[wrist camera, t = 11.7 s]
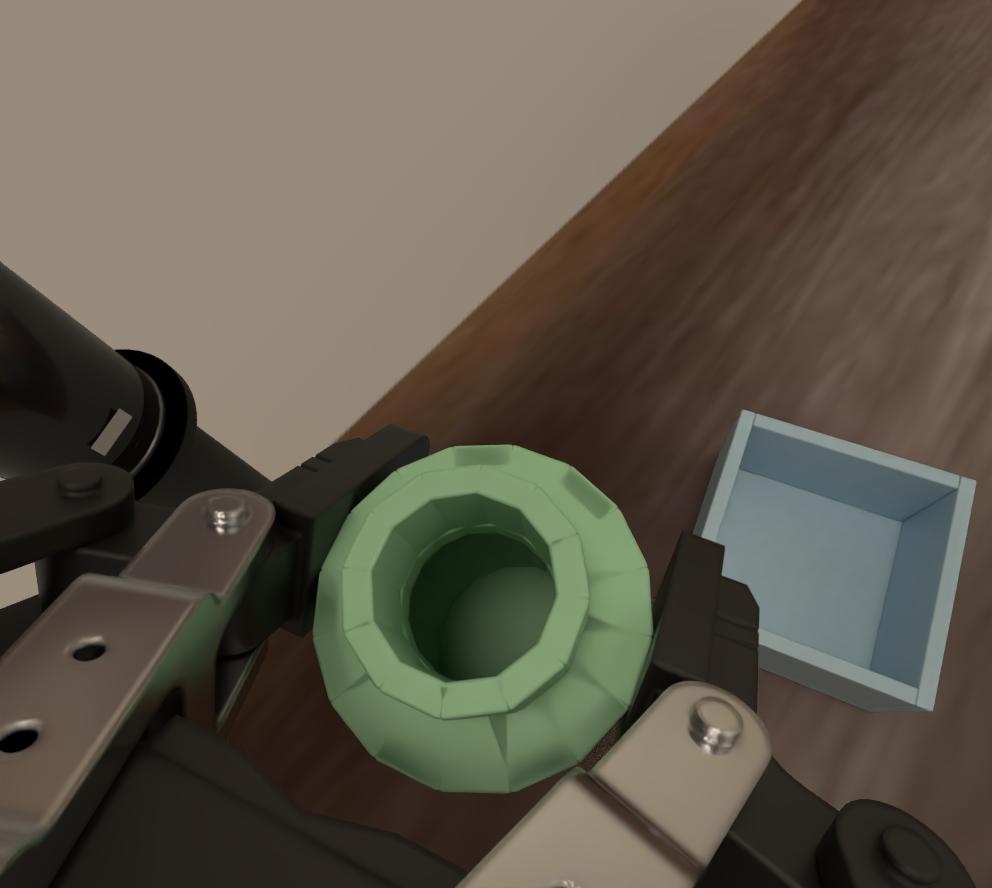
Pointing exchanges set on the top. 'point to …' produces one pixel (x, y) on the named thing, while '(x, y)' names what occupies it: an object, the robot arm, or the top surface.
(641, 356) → the top surface
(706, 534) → the case
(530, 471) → the bottle
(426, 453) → the robot arm
